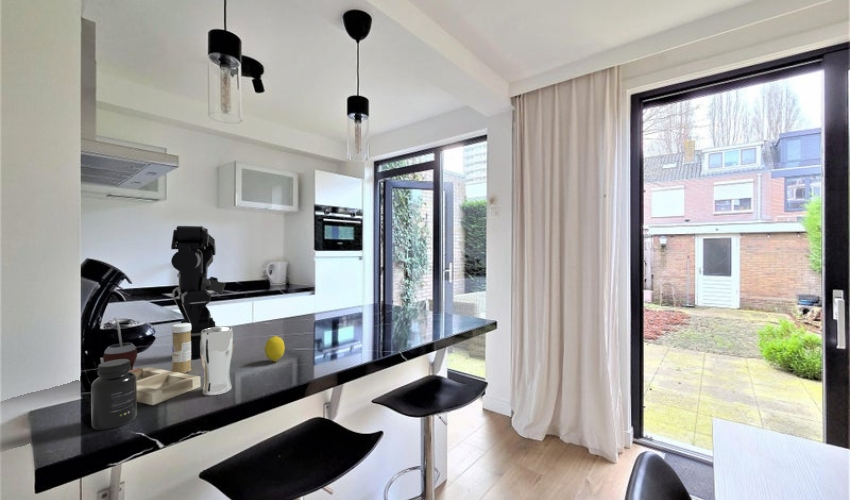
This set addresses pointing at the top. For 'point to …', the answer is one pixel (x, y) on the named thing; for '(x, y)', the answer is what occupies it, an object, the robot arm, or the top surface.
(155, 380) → the beige wooden flat tray
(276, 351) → the lemon
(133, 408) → the supplement bottle
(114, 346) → the mate gourd
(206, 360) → the beer glass
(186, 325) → the sprinkles bottle
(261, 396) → the top surface
